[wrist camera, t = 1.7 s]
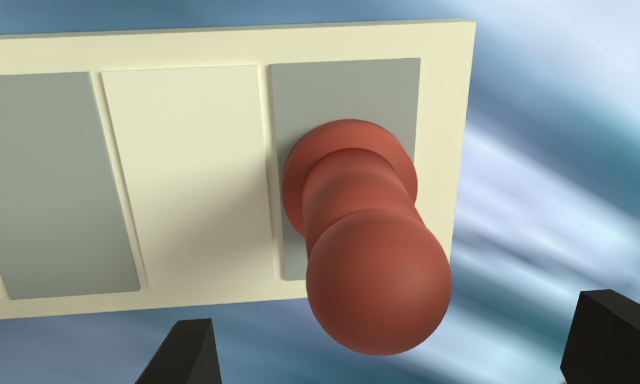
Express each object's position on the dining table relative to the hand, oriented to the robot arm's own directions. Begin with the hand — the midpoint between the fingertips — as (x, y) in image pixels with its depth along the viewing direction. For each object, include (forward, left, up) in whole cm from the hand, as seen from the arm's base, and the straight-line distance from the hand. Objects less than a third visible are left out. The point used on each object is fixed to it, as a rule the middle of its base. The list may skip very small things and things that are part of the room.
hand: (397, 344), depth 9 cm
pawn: (0, 0, -8) cm, 8 cm away
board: (0, +10, -9) cm, 13 cm away
